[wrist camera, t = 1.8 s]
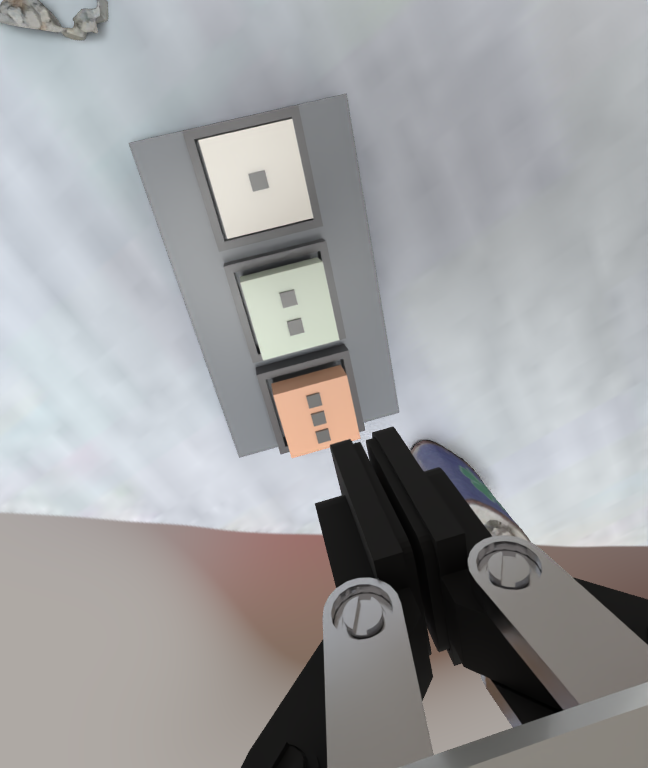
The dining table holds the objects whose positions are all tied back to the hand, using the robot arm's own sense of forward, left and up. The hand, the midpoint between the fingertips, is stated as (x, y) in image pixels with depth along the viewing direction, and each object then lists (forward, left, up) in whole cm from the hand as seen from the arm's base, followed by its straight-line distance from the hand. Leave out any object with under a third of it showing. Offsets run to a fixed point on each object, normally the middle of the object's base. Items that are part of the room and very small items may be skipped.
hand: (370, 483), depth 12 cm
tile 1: (0, -8, -20) cm, 21 cm away
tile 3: (0, +7, -20) cm, 21 cm away
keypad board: (0, 0, -23) cm, 23 cm away
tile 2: (0, 0, -20) cm, 20 cm away
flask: (-10, +19, -23) cm, 32 cm away
